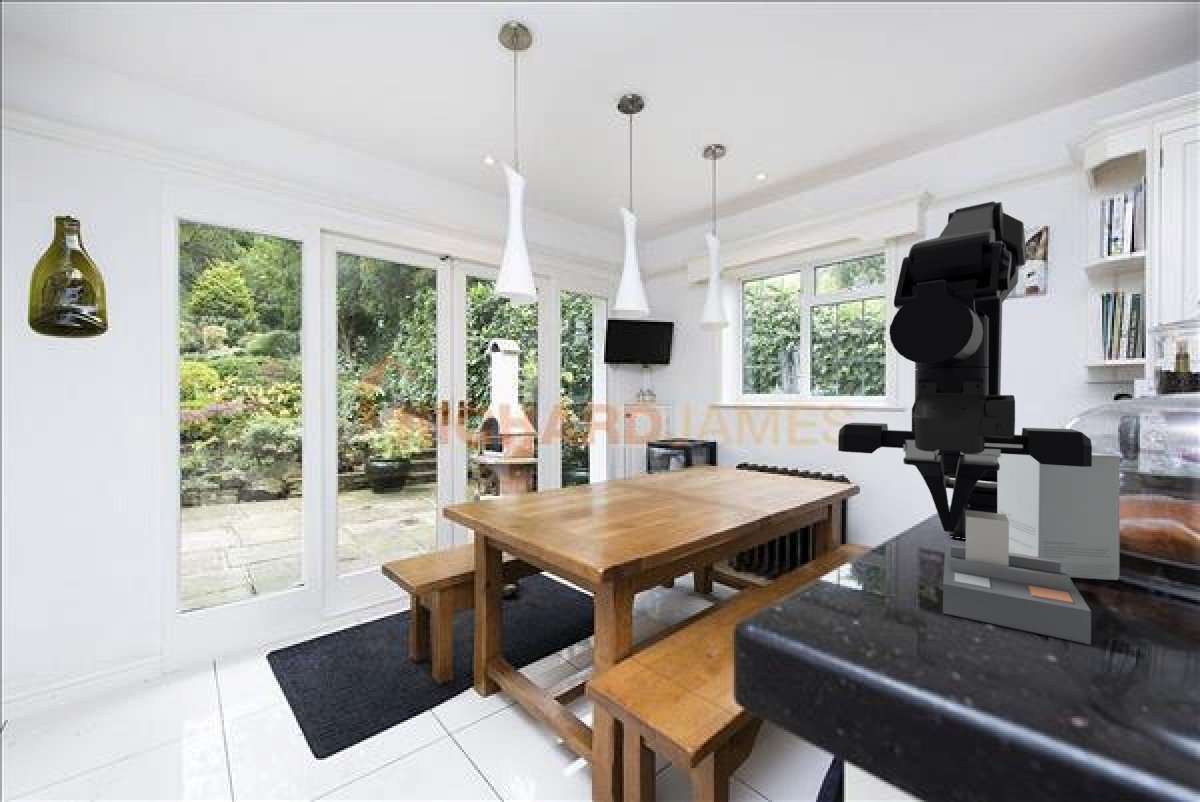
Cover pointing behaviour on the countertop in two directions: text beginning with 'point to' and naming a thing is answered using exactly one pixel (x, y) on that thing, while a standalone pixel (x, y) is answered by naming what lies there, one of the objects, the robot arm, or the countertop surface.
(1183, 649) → the countertop surface
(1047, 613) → the switch board
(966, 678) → the countertop surface
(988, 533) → the switch tab
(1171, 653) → the countertop surface
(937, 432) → the robot arm
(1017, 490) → the supplement box
